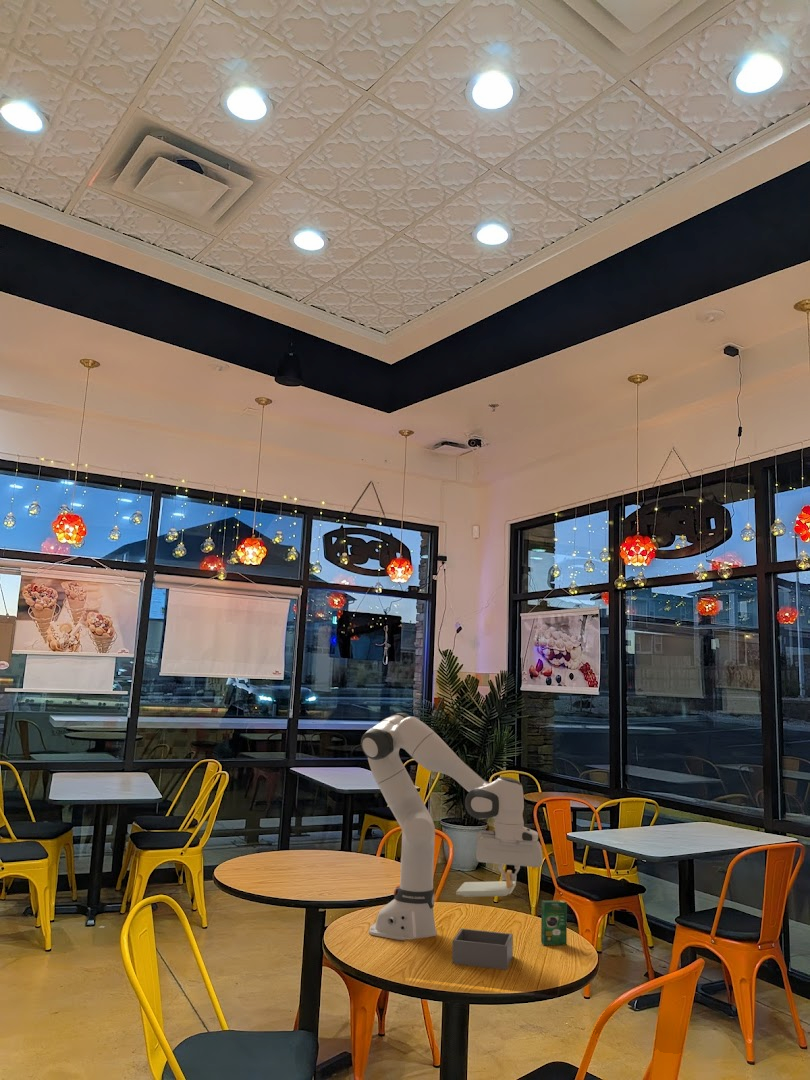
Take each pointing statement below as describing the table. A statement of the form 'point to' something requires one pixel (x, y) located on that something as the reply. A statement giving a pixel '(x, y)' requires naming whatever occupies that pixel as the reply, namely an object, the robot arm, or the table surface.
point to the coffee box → (554, 923)
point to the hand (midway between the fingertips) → (509, 880)
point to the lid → (487, 887)
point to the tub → (483, 949)
